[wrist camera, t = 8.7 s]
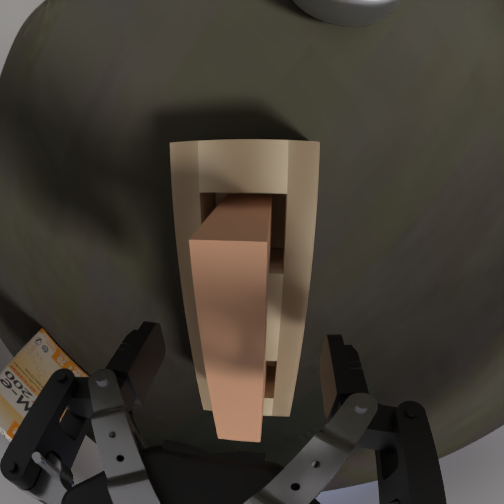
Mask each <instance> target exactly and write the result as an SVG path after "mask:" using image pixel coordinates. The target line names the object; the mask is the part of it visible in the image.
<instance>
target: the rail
mask: <svg viewBox="0 0 504 504" xmlns="http://www.w3.org/2000/svg"><path fill="white" fill-rule="evenodd" d="M319 152H320V142H315V141H300V140H275V139H223V140H199V141H183V142H171V143H170V163H171V183H172V198H173V212H174V224H175V234H176V245H177V254H178V263H179V271H180V279H181V287H182V294H183V301H184V308H185V315H186V321H187V328H188V334H189V340H190V345H191V351H192V357H193V362H194V367H195V372H196V377H197V382H198V387H199V392H200V396H201V401H202V405H203V410H211V411H213V410H212V405H211V399H210V394H209V388H208V383H207V377H206V371H205V365H204V359H203V352H202V346H201V339H200V332H199V325H198V318H197V310H196V302H195V294H194V285H193V276H192V267H191V257H190V246H189V239H190V238H191V237H192V235H193V234H194V233H195V232H196V231H197V229H198V228H199V227H200V226H201V225H202V223H203V222H204V221H205V220H206V219H207V217H208V216H209V215H210V214H211V213H212V212H213V210H214V209H215V208H216V207H217V206H218V205H219V203H220V202H221V201H222V200H223V199H224V198H225V197H226V195H227V194H228V193H243V194H272V235H271V248H270V261H269V273H268V302H267V331H266V357H265V361H267V367H266V381H265V393H264V405H263V415H265V416H290V411H291V406H292V400H293V395H294V389H295V384H296V378H297V372H298V366H299V360H300V353H301V347H302V340H303V333H304V326H305V318H306V311H307V303H308V295H309V286H310V277H311V267H312V257H313V247H314V235H315V223H316V209H317V194H318V176H319Z"/></svg>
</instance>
